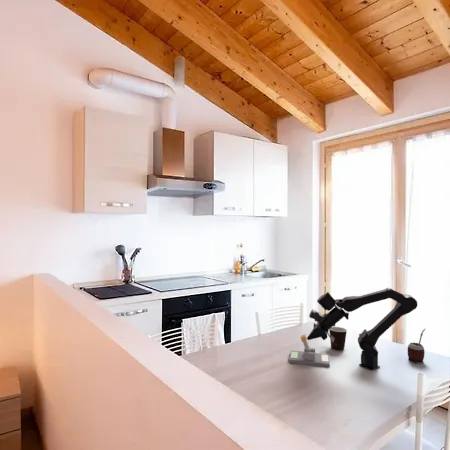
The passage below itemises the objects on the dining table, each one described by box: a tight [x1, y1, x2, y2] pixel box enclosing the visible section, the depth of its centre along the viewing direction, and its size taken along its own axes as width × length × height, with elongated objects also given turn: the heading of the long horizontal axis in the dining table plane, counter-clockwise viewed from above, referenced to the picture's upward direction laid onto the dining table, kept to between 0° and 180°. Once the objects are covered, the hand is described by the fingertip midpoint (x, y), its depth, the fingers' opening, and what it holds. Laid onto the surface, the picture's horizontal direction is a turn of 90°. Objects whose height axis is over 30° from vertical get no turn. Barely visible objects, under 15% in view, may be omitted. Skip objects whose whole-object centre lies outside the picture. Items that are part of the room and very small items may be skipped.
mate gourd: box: [407, 328, 426, 364], centre depth 166 cm, size 8×8×15 cm
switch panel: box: [288, 346, 331, 368], centre depth 165 cm, size 18×12×4 cm, turn 75°
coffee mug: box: [327, 326, 347, 352], centre depth 182 cm, size 12×9×10 cm
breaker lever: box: [300, 334, 311, 352], centre depth 166 cm, size 2×4×10 cm, turn 165°
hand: (307, 339), depth 166 cm, fingers closed
